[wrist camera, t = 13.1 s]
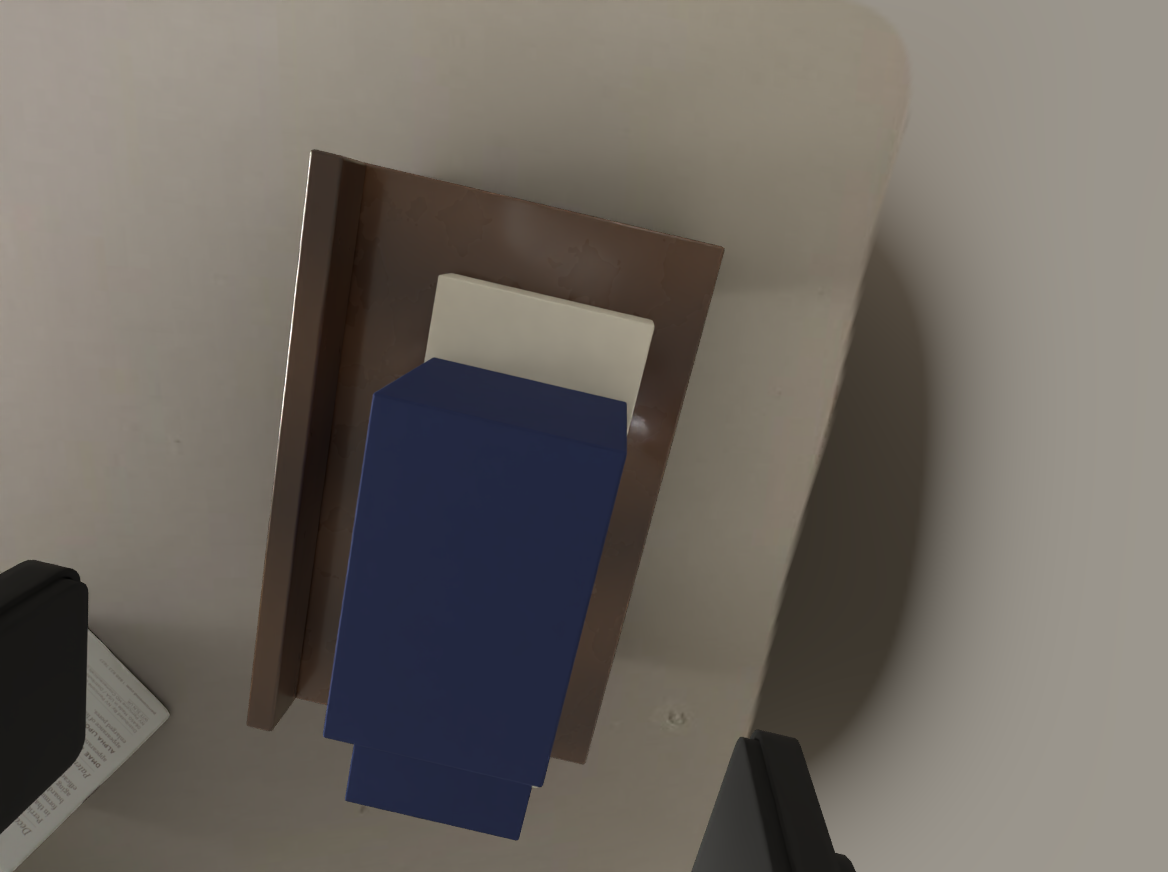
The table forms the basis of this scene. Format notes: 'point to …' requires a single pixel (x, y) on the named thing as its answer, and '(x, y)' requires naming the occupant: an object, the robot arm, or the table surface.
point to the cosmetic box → (89, 750)
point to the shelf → (398, 345)
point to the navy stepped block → (479, 550)
